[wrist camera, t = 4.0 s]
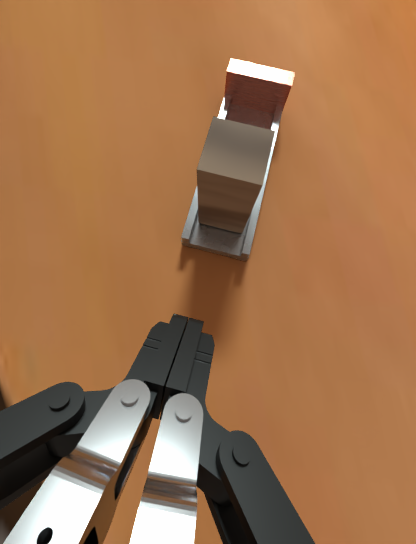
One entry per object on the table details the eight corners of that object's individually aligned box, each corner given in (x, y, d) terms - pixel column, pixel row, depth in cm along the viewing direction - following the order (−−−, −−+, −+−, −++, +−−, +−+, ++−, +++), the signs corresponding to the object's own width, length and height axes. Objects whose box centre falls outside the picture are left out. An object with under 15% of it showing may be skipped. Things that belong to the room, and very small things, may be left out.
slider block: (241, 233, 26) (262, 185, 17) (198, 222, 26) (196, 169, 17) (251, 194, 27) (275, 130, 18) (209, 184, 27) (213, 116, 18)
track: (246, 261, 27) (255, 246, 22) (182, 244, 27) (177, 226, 22) (280, 111, 32) (294, 72, 27) (226, 99, 32) (230, 58, 27)
